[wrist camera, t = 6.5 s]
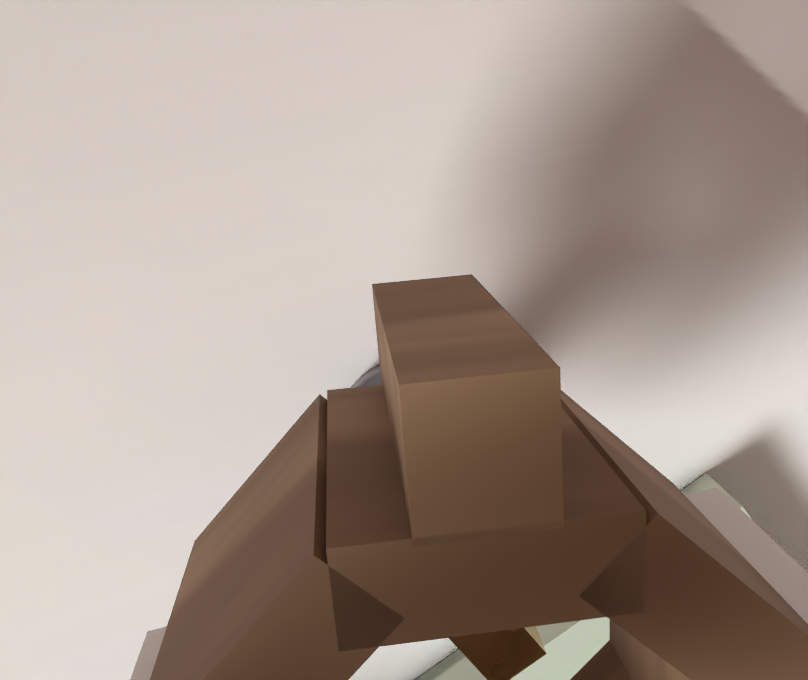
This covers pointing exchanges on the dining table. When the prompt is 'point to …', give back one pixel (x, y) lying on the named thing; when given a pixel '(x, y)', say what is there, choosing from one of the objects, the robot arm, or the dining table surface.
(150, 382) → the dining table surface
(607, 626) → the tray
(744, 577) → the ring
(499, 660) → the door handle
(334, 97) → the dining table surface
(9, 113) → the dining table surface
